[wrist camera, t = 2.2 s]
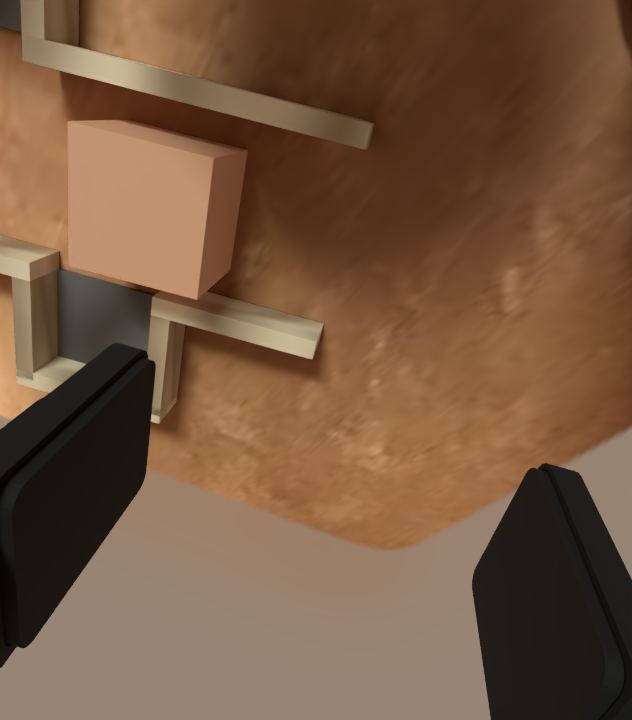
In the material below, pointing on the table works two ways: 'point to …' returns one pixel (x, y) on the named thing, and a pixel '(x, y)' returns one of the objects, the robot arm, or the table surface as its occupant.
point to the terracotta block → (152, 204)
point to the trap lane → (119, 303)
